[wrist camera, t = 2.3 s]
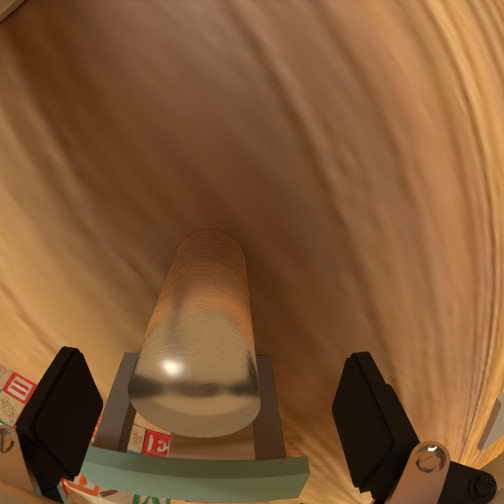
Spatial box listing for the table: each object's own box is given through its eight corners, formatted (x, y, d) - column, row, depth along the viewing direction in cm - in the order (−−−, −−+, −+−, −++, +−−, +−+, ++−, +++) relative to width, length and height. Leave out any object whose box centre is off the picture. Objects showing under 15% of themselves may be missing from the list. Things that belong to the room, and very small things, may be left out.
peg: (173, 229, 16) (112, 353, 7) (245, 228, 16) (263, 358, 7) (179, 292, 18) (144, 433, 9) (245, 292, 18) (258, 437, 9)
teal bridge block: (111, 338, 19) (64, 454, 10) (281, 341, 20) (310, 472, 10) (124, 376, 20) (92, 484, 11) (277, 380, 21) (297, 497, 12)
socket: (174, 409, 22) (166, 468, 17) (268, 410, 23) (275, 469, 17) (188, 455, 26) (185, 501, 20) (263, 455, 26) (268, 501, 21)
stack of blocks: (178, 435, 24) (169, 546, 13) (168, 458, 26) (159, 551, 15) (-8, 357, 20) (-59, 439, 9) (3, 391, 22) (-35, 465, 11)
